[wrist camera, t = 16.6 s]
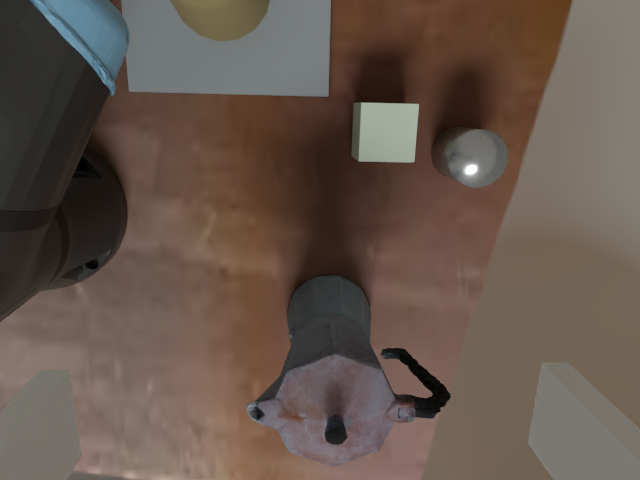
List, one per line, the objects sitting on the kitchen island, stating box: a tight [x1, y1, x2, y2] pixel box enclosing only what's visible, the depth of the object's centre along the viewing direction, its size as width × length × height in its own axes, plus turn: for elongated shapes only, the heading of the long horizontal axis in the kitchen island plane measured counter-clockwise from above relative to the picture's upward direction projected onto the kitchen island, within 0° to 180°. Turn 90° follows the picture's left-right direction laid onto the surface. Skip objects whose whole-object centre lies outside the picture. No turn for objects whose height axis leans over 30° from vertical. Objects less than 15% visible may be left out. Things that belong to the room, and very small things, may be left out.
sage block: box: [351, 103, 419, 162], centre depth 43 cm, size 5×5×5 cm
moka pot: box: [246, 275, 451, 466], centre depth 41 cm, size 10×15×20 cm, turn 95°
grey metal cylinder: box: [431, 127, 508, 188], centre depth 44 cm, size 5×5×6 cm
